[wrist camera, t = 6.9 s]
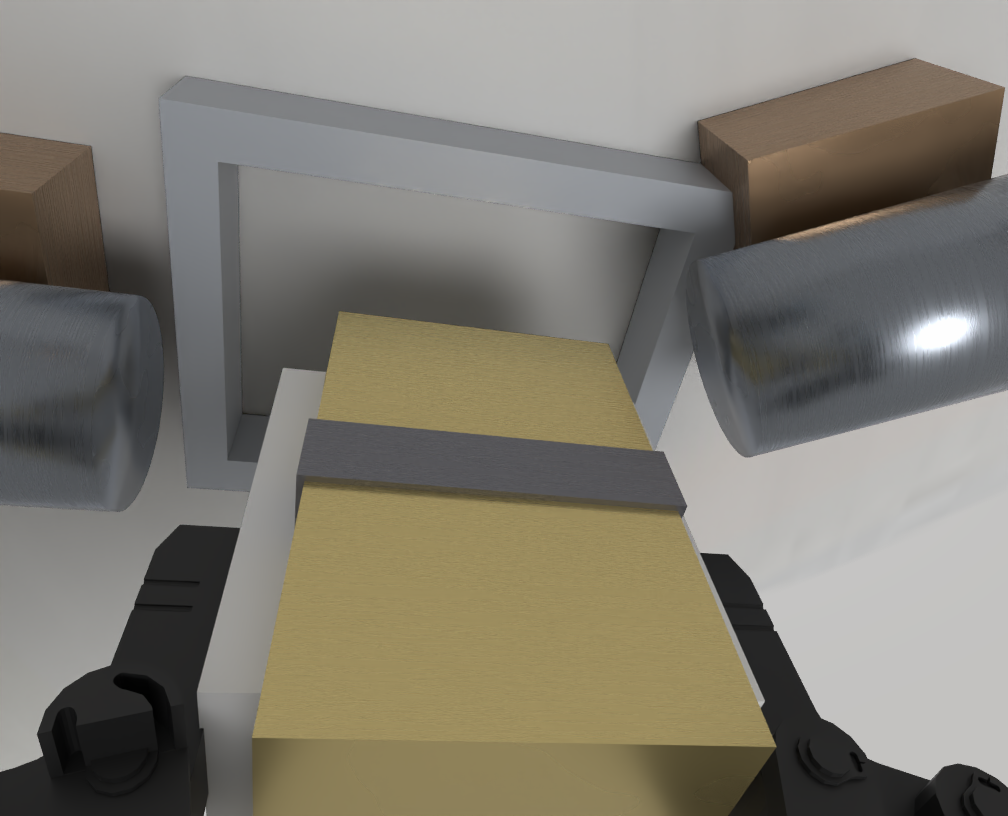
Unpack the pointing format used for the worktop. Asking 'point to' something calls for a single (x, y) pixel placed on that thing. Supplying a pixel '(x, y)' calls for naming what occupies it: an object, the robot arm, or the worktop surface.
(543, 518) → the gold rectangular block
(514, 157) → the cradle
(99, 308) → the shaft
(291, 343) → the worktop surface
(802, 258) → the shaft
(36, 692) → the worktop surface
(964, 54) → the worktop surface
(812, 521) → the worktop surface
